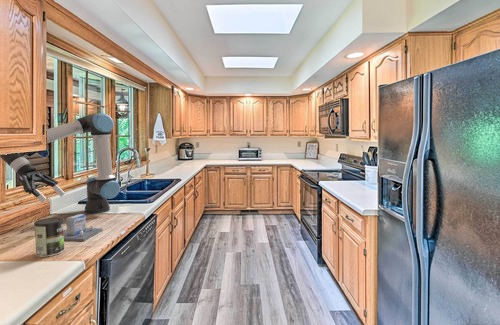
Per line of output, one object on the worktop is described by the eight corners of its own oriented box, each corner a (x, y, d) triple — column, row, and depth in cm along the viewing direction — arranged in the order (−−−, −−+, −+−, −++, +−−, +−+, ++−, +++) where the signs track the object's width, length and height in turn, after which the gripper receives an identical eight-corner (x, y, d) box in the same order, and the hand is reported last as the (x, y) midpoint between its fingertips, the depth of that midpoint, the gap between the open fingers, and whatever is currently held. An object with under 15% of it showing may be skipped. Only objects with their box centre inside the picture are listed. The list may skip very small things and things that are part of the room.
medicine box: (74, 235, 144) (73, 218, 143) (66, 234, 144) (66, 217, 144) (86, 230, 151) (85, 214, 151) (78, 230, 152) (78, 213, 152)
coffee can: (67, 247, 132) (66, 216, 131) (60, 255, 122) (58, 223, 121) (41, 249, 129) (40, 218, 128) (31, 258, 119) (29, 224, 118)
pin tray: (70, 229, 156) (69, 223, 156) (102, 230, 155) (102, 223, 155) (48, 240, 140) (47, 232, 140) (84, 241, 139) (83, 233, 139)
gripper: (37, 170, 160) (65, 197, 161) (-3, 176, 136) (30, 208, 137) (46, 160, 160) (74, 188, 161) (7, 165, 135) (40, 197, 136)
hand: (54, 197), depth 149 cm, fingers open, 13 cm apart
